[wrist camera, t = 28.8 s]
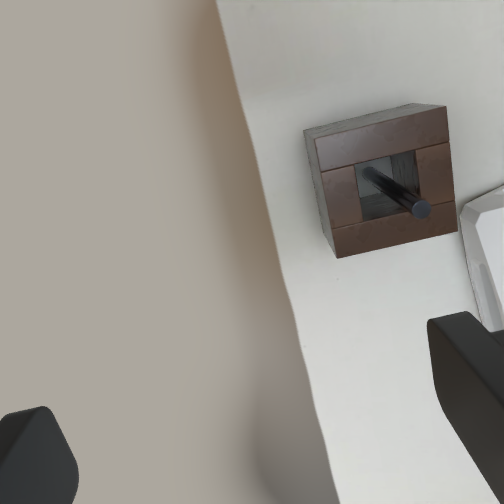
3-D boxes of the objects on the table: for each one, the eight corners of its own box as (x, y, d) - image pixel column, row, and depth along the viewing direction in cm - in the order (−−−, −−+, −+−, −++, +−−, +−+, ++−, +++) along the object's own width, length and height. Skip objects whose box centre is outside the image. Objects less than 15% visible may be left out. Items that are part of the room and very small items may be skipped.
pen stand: (302, 130, 40) (313, 138, 34) (413, 102, 40) (446, 105, 33) (323, 233, 43) (336, 259, 37) (425, 209, 43) (458, 231, 36)
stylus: (357, 170, 41) (408, 208, 28) (368, 162, 41) (424, 196, 28) (364, 180, 42) (418, 223, 29) (375, 172, 42) (435, 211, 28)
